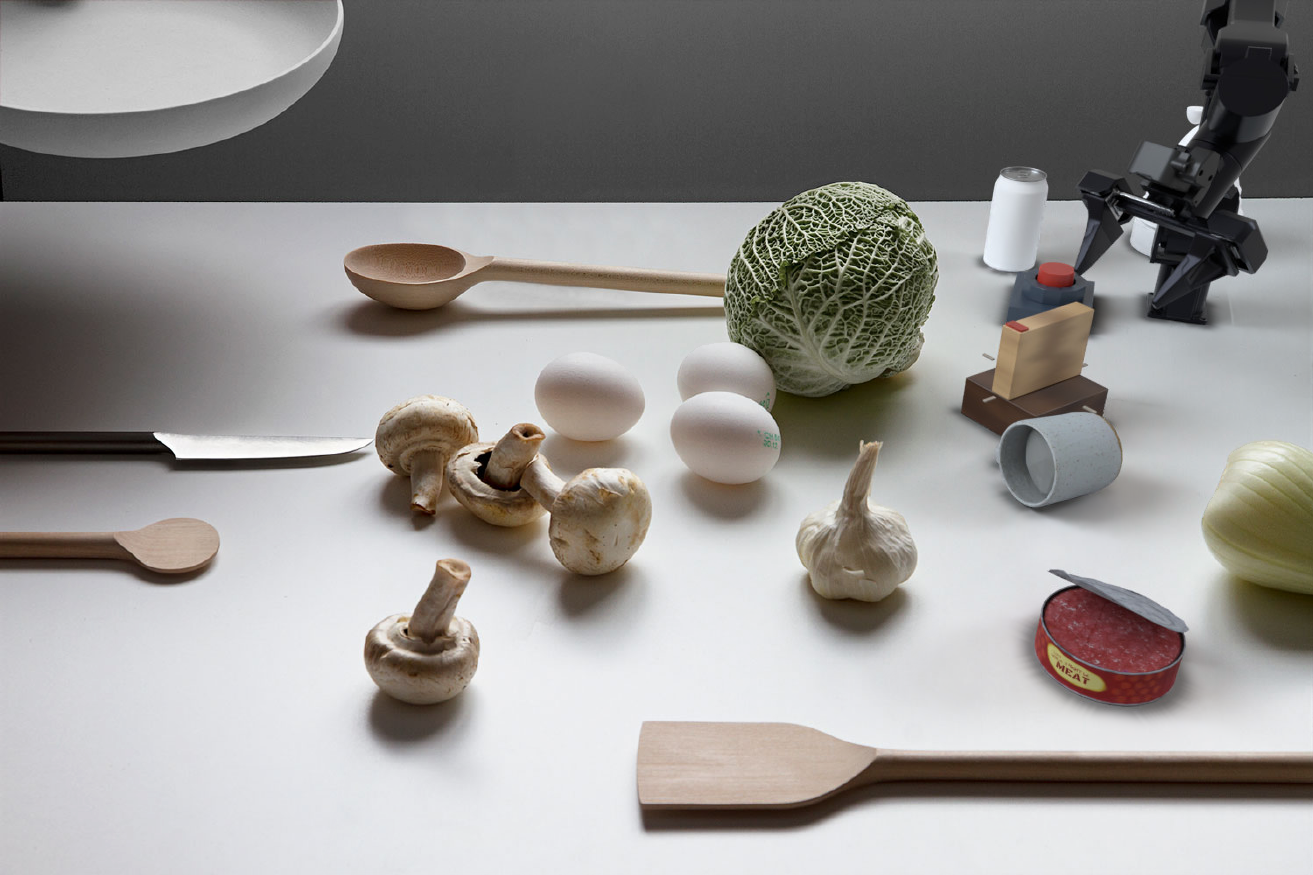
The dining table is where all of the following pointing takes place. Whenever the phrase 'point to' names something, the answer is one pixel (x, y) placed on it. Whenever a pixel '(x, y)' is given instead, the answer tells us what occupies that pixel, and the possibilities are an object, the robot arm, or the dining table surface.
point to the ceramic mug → (1058, 457)
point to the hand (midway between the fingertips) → (1114, 289)
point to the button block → (1045, 295)
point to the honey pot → (1143, 228)
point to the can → (1016, 219)
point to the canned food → (1109, 642)
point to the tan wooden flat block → (1042, 350)
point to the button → (1056, 274)
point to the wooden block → (1029, 400)
